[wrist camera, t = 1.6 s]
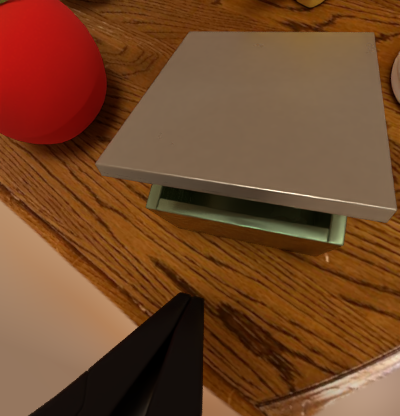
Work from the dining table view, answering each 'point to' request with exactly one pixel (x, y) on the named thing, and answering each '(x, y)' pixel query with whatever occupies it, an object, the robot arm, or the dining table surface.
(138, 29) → the dining table surface
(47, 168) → the dining table surface
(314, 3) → the teapot
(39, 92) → the tomato
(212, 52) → the bin lid
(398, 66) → the cream thick disc
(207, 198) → the metal tin box
